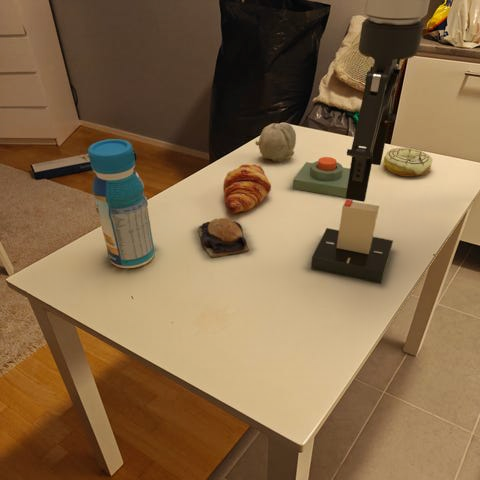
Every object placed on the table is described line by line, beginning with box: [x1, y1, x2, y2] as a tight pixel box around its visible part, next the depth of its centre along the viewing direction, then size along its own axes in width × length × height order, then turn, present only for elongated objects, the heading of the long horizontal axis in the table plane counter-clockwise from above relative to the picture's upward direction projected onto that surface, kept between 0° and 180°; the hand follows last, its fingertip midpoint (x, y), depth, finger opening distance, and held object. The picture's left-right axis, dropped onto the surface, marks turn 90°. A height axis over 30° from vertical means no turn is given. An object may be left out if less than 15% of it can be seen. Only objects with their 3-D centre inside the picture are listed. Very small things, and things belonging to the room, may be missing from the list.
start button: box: [317, 156, 338, 171], centre depth 101 cm, size 4×4×2 cm
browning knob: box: [337, 199, 380, 254], centre depth 77 cm, size 6×2×8 cm, turn 68°
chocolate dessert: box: [197, 217, 250, 258], centre depth 86 cm, size 11×8×4 cm
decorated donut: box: [382, 147, 433, 177], centre depth 108 cm, size 10×11×4 cm
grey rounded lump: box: [254, 122, 297, 163], centre depth 111 cm, size 9×8×10 cm
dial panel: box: [310, 227, 394, 284], centre depth 80 cm, size 12×10×3 cm
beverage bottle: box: [87, 138, 156, 269], centre depth 76 cm, size 8×8×20 cm
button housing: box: [292, 160, 350, 198], centre depth 103 cm, size 12×10×4 cm
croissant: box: [222, 163, 272, 214], centre depth 98 cm, size 21×10×8 cm, turn 166°
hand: (364, 180), depth 71 cm, fingers open, 13 cm apart
